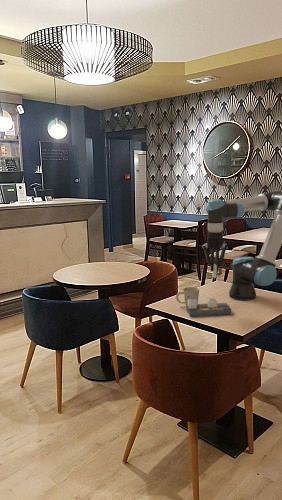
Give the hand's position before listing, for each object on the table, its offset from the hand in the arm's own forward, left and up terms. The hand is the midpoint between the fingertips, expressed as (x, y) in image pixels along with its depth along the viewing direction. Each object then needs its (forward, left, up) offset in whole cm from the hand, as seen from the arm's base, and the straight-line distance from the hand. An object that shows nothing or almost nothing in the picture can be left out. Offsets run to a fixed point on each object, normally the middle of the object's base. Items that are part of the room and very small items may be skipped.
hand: (214, 277), depth 200 cm
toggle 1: (+11, 0, -16) cm, 19 cm away
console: (+3, 0, -19) cm, 19 cm away
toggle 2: (+1, 0, -16) cm, 16 cm away
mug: (+12, -10, -19) cm, 25 cm away
